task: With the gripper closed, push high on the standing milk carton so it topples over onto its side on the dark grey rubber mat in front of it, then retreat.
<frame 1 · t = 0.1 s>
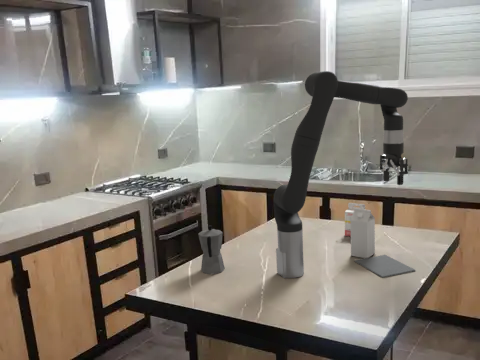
hand: (393, 182, 183), 29 cm above the table, fingers open, 8 cm apart
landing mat: (383, 266, 177), on the table
milk carton: (362, 255, 190), on the table
coffeepot: (212, 271, 182), on the table
ink cartridge box: (355, 236, 215), on the table
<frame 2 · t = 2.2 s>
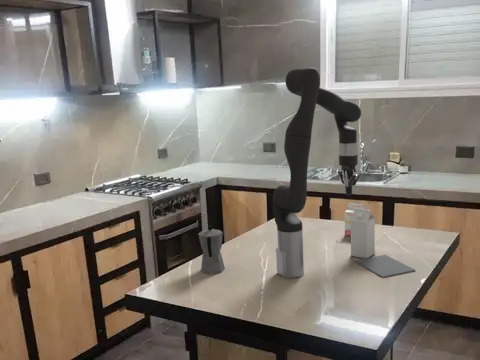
hand: (348, 194, 195), 23 cm above the table, fingers closed
nothing on the table moved.
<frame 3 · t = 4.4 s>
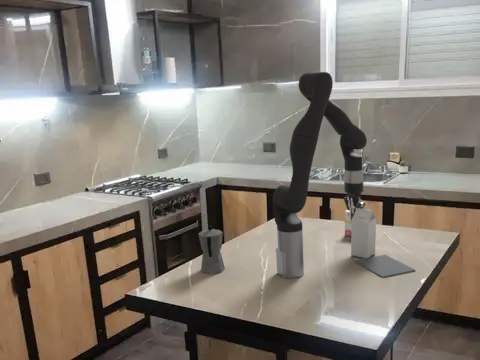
hand: (354, 221, 194), 12 cm above the table, fingers closed
milk carton: (363, 254, 190), on the table, touching gripper, hand
everything else where it was.
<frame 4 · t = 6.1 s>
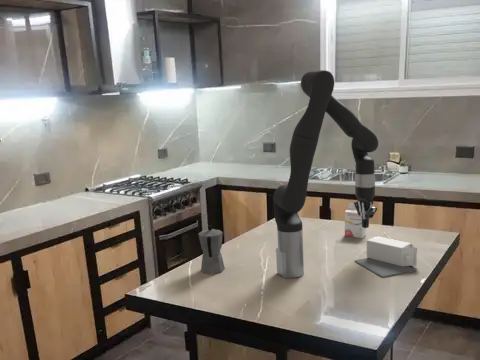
hand: (365, 227, 186), 12 cm above the table, fingers closed
milk carton: (370, 246, 187), point 4 cm above the table, touching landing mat
everything else where it was.
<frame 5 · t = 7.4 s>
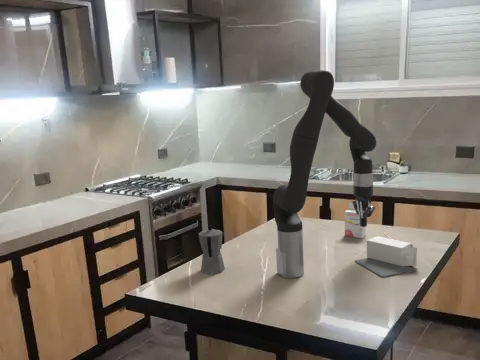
hand: (363, 226, 187), 12 cm above the table, fingers closed
nothing on the table moved.
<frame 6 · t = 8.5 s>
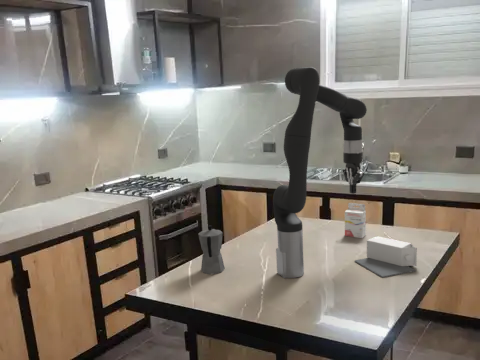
hand: (352, 193, 192), 24 cm above the table, fingers closed
nothing on the table moved.
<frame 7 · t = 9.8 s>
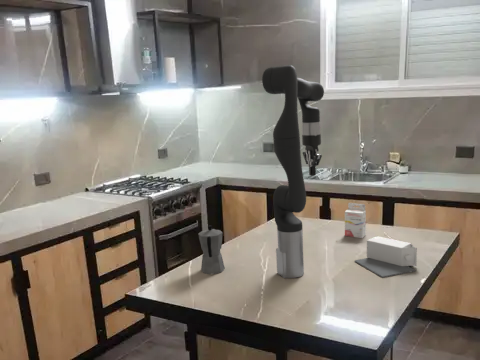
hand: (312, 175, 193), 32 cm above the table, fingers closed
nothing on the table moved.
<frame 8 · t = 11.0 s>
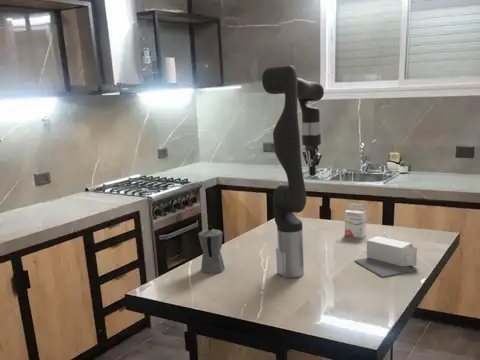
hand: (312, 175, 194), 32 cm above the table, fingers closed
nothing on the table moved.
at the end: milk carton tilted 90°; milk carton 11.4 cm from the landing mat (horizontally); milk carton point 4.1 cm above the table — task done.
